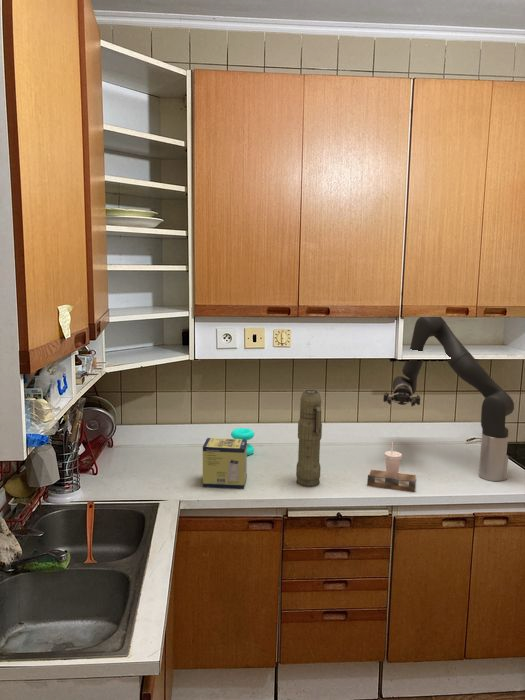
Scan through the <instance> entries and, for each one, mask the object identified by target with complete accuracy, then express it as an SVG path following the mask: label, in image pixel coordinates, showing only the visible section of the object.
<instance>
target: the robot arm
mask: <svg viewBox="0 0 525 700" xmlns="http://www.w3.org/2000/svg"><path fill="white" fill-rule="evenodd" d="M413 327H414V328H413V332H412V333H413V334H412V338H411V343H410V347H409V350H410V349H412V350H418V351H423V352H424V347H425V345H426V342H427V341H428V339H429V338H432V337H434V338H435V339H436V340H437V341H438V342H439V344H440V345H441V346H442V348H443V350H444V353H446V354H447V355H448V356H449V357H451V359H448V360H447V359H446V361H447V363H448V365H449V367H450V368H451V369H452V370H453V372H454V373H455V374H456V375H457V376H458V377H459V378H460V379H461V380H463V381H464V382H465V383H467V384H469V385H470V386H471V387H473V388H474V389H476V390H477V391H479V393H480V394H481V395H482V396H483V397H484V400H482V405H481V415H480V426H481V432H482V433H481V443H480V453H479V454H480V456H479V465H478V476H479V477H480V478H481V479H483V480H486V481H491V482H501V481H505V480H507V477H508V475H507V474H508V467H509V455H507V450H508V440H509V428H508V427H507V426H506V418H507V416H509V415H511V414H513V411H514V409H515V403H514V401H513V399H512V397H511V396H510V395H509V394H508V393H507V392H506V391H505V390H504V389H503V388H502V387H501V386H500V385H499V384H498V383H497V382H495V381H494V379H493V378H492V377H491V376H490V375H489V373H488V372H487V371H486V370H485V369H484V368H483V366H481V364H480V363H479V362H478V360H476V358H475V357H474V356H473V354H471V353H470V351H469V350H468V349H467V348H466V347H465V346H464V345H463V343H462V342H461V341H460V340H459V338H458V337H457V336H456V335H455V334H454V332H453V331H452V330H451V328H450V327H449V325H448V324H447V323H446V321H445V319H444V318H443V317H442V316H440V317H421V316H419V317H418V318H417V319H416V321H415V323H414V326H413ZM446 354H445V355H446ZM423 362H424V360H423V361H417V360H409V361H406V360H405V362H404V365H403V366H402V369H401V371H402V374H403V375H404V376H401V375H398V376H396V377H394V379H393V381H392V390H393V393H391V394H389V393H388V392H385V393H384V394H383V400H382V401H383V402H384V403H387V404H388V405H392V404H395V403H396V404H398V405H401V406H406V405H407V404H408V405H410V406H411V407H414V406H415V405H417V406H420V405H421V396H420V395H415V393H416V391H417V386H418V385H417V383H418V377H419V374H420V370H421V369H422V366H423ZM413 395H415V396H413ZM391 403H392V404H391Z"/></svg>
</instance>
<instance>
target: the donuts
mask: <svg viewBox="0 0 525 700" xmlns="http://www.w3.org/2000/svg"><path fill="white" fill-rule="evenodd" d="M230 436H231V437H232V439H247V441H251V440H252V439H253V438H254V437H255V432H254V430H253V429H250V428H249V427H248V428H247V427H238V428H234V429H233V430H231V433H230ZM254 451H255V448H254V446H253V445H252V444H249V443H247V456H248V457H249V456H250V455H252V454H254Z"/></svg>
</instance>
